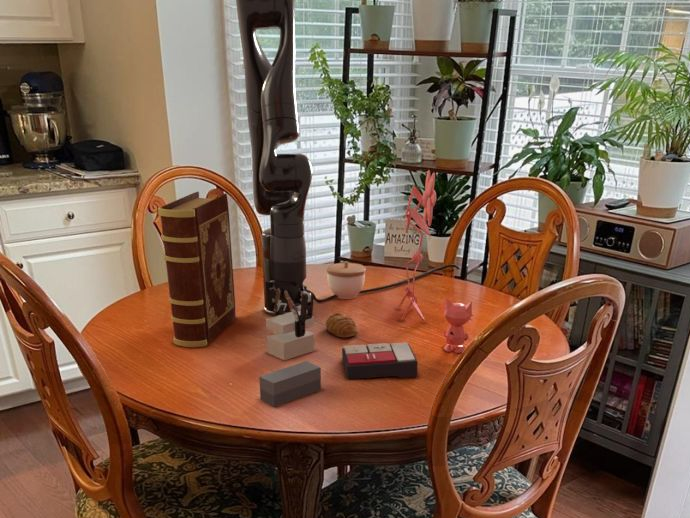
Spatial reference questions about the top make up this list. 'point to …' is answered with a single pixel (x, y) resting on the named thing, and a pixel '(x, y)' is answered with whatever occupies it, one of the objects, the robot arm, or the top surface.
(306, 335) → the light gray block
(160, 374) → the top surface
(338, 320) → the pastry
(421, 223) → the figurine
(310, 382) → the gray sharpening stone
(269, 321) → the beige flat block
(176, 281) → the decorative book
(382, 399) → the top surface
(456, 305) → the cat figurine
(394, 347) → the grey and red box
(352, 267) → the trinket box
